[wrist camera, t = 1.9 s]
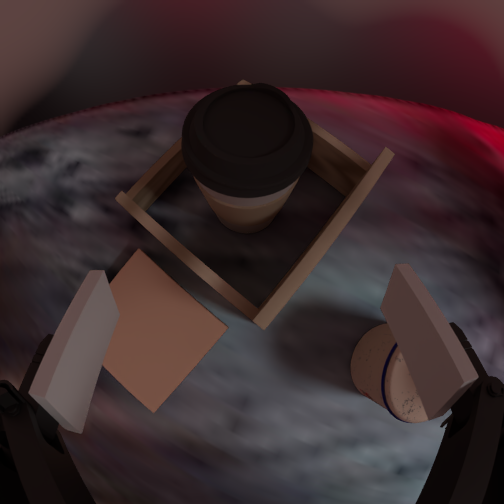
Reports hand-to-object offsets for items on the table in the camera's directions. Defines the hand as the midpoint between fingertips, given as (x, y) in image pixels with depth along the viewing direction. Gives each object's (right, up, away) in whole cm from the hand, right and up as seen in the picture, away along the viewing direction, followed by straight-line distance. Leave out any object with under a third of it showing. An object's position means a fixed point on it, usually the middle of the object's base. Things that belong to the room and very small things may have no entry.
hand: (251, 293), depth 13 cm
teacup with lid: (+16, -10, +16) cm, 25 cm away
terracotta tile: (-11, -6, +16) cm, 20 cm away
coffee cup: (-1, +7, +19) cm, 20 cm away
